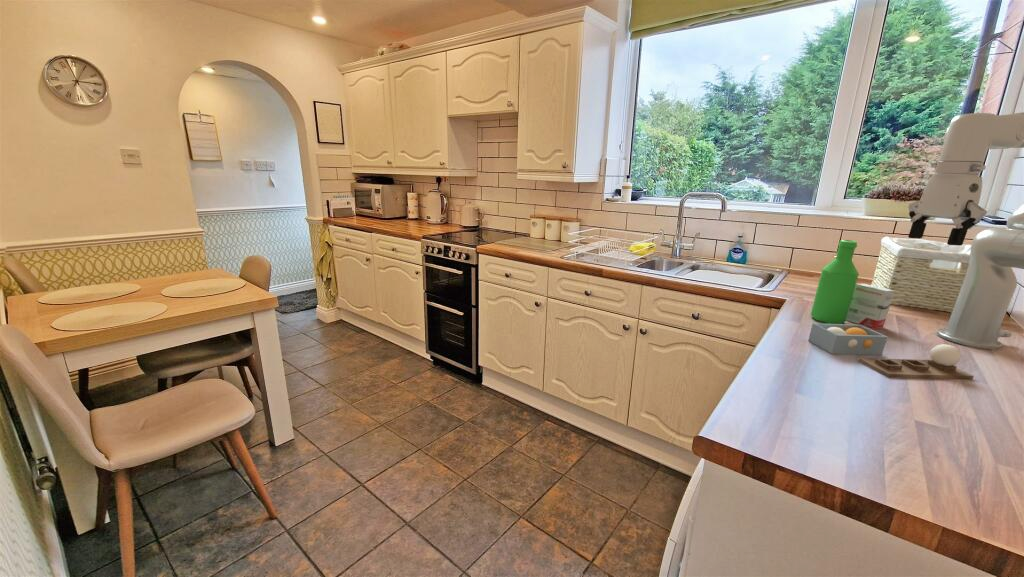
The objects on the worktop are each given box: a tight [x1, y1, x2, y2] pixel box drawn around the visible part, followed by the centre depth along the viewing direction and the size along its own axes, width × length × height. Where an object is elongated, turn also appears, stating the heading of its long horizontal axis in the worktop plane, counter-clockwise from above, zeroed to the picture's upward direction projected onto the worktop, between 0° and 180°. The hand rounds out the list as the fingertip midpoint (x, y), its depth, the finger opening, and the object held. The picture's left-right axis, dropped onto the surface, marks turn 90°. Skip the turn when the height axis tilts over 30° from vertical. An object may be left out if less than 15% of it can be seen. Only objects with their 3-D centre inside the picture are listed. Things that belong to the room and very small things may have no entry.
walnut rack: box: [858, 357, 974, 380], centre depth 97 cm, size 20×8×2 cm, turn 92°
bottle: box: [810, 239, 860, 324], centre depth 125 cm, size 9×9×25 cm
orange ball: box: [845, 327, 867, 335], centre depth 108 cm, size 5×5×5 cm
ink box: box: [846, 283, 895, 330], centre depth 126 cm, size 8×5×12 cm, turn 26°
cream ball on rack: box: [929, 343, 962, 366], centre depth 96 cm, size 5×5×5 cm
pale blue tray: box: [807, 322, 889, 356], centre depth 108 cm, size 13×8×5 cm, turn 92°
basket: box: [870, 236, 971, 314], centre depth 150 cm, size 27×27×22 cm
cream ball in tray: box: [827, 327, 847, 335], centre depth 107 cm, size 5×5×5 cm
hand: (933, 241), depth 103 cm, fingers open, 9 cm apart
